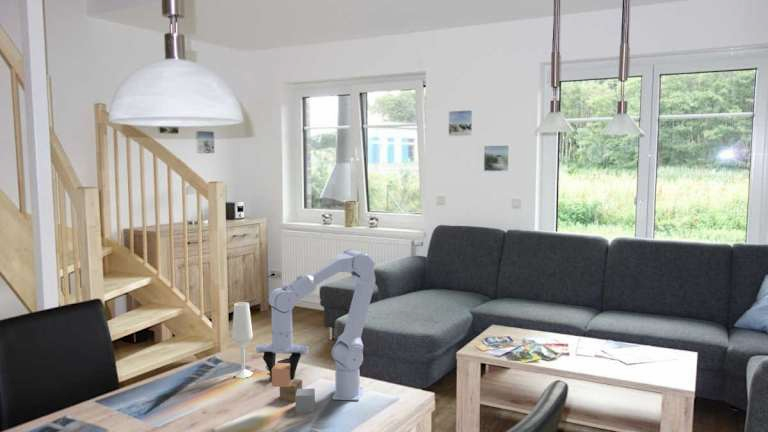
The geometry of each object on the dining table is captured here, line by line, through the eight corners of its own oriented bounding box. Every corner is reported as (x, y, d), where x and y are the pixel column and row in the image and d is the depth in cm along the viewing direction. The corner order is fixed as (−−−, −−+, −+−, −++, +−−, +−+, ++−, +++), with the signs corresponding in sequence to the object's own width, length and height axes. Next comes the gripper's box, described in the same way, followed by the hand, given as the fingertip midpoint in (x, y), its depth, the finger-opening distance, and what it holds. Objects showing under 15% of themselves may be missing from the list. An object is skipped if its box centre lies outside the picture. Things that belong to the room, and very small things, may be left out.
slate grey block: (297, 405, 173) (297, 388, 172) (314, 405, 173) (314, 388, 172) (295, 412, 168) (295, 395, 167) (313, 412, 168) (313, 395, 167)
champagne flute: (229, 374, 196) (227, 303, 194) (247, 369, 201) (245, 300, 198) (239, 380, 192) (237, 307, 189) (257, 375, 196) (256, 304, 194)
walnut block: (287, 394, 181) (286, 378, 180) (302, 395, 180) (302, 379, 179) (279, 400, 176) (279, 384, 176) (295, 402, 175) (295, 386, 174)
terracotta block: (276, 379, 171) (276, 362, 171) (293, 380, 171) (293, 363, 170) (271, 386, 166) (271, 369, 166) (289, 386, 166) (289, 369, 165)
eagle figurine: (280, 382, 187) (302, 369, 194) (269, 362, 188) (291, 350, 195) (270, 388, 192) (291, 376, 199) (259, 369, 194) (281, 357, 200)
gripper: (252, 334, 164) (253, 382, 165) (304, 336, 162) (304, 384, 164) (260, 327, 171) (261, 373, 172) (309, 328, 169) (310, 374, 171)
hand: (283, 378), depth 168 cm, fingers closed on terracotta block, 5 cm apart
